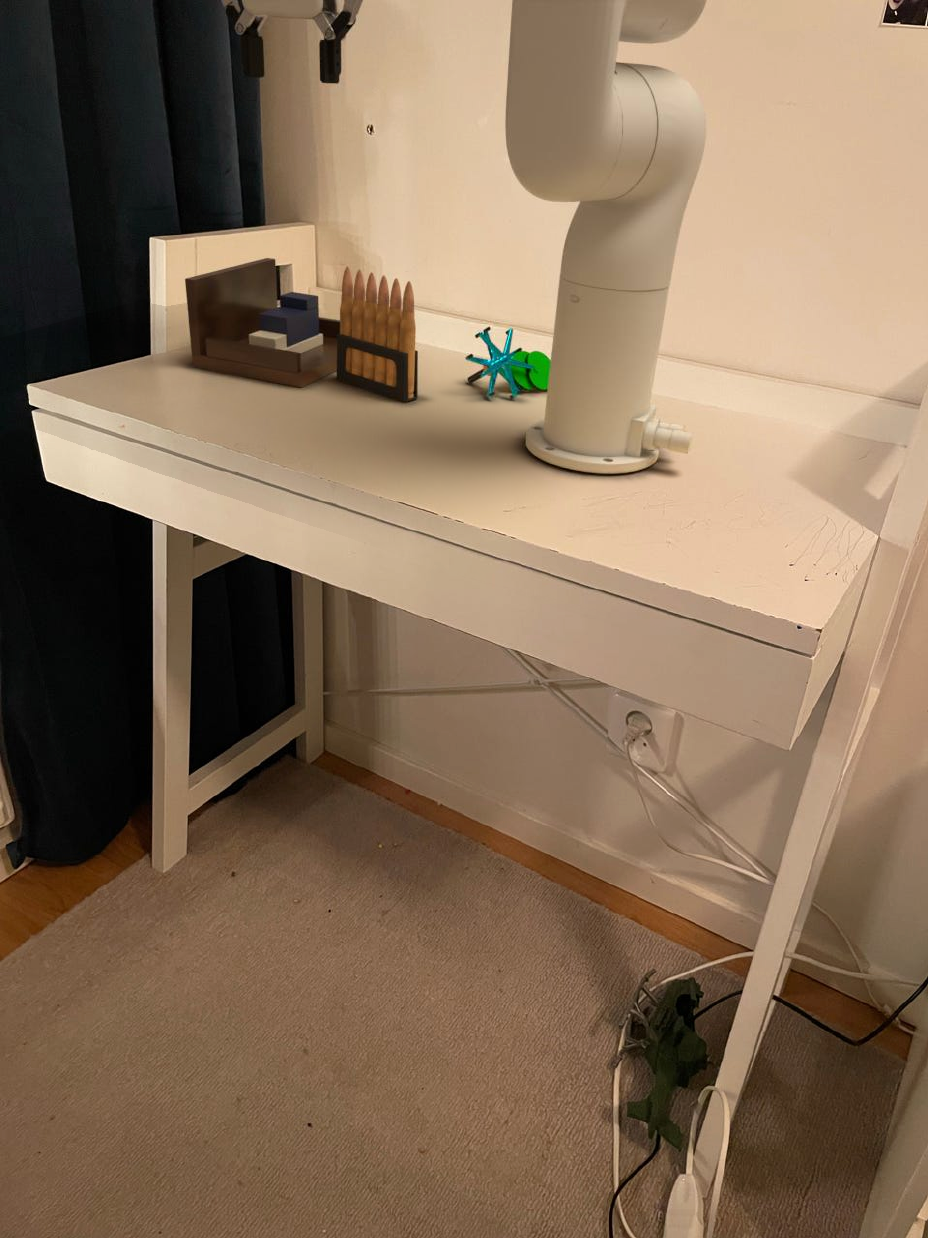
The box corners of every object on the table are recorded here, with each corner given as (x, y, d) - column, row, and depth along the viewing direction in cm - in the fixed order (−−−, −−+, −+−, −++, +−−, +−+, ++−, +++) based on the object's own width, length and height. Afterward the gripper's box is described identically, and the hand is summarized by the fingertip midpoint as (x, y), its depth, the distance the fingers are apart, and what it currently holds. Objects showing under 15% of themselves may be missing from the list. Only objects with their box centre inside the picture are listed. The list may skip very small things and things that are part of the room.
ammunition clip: (418, 399, 99) (422, 281, 93) (406, 402, 98) (409, 283, 92) (347, 376, 105) (347, 264, 99) (335, 379, 103) (334, 265, 97)
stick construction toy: (482, 385, 97) (476, 314, 98) (443, 407, 102) (438, 339, 103) (566, 404, 104) (560, 338, 105) (525, 423, 109) (520, 360, 110)
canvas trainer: (293, 338, 111) (292, 290, 109) (323, 344, 110) (322, 295, 107) (246, 357, 103) (243, 306, 100) (277, 363, 102) (275, 311, 99)
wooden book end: (270, 337, 117) (266, 257, 112) (369, 354, 113) (370, 272, 108) (192, 366, 104) (184, 278, 99) (301, 387, 100) (298, 296, 95)
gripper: (378, -107, 95) (376, 85, 104) (234, -108, 100) (244, 75, 109) (342, -121, 89) (343, 85, 98) (192, -121, 94) (206, 74, 103)
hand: (291, 79), depth 103 cm, fingers open, 9 cm apart
